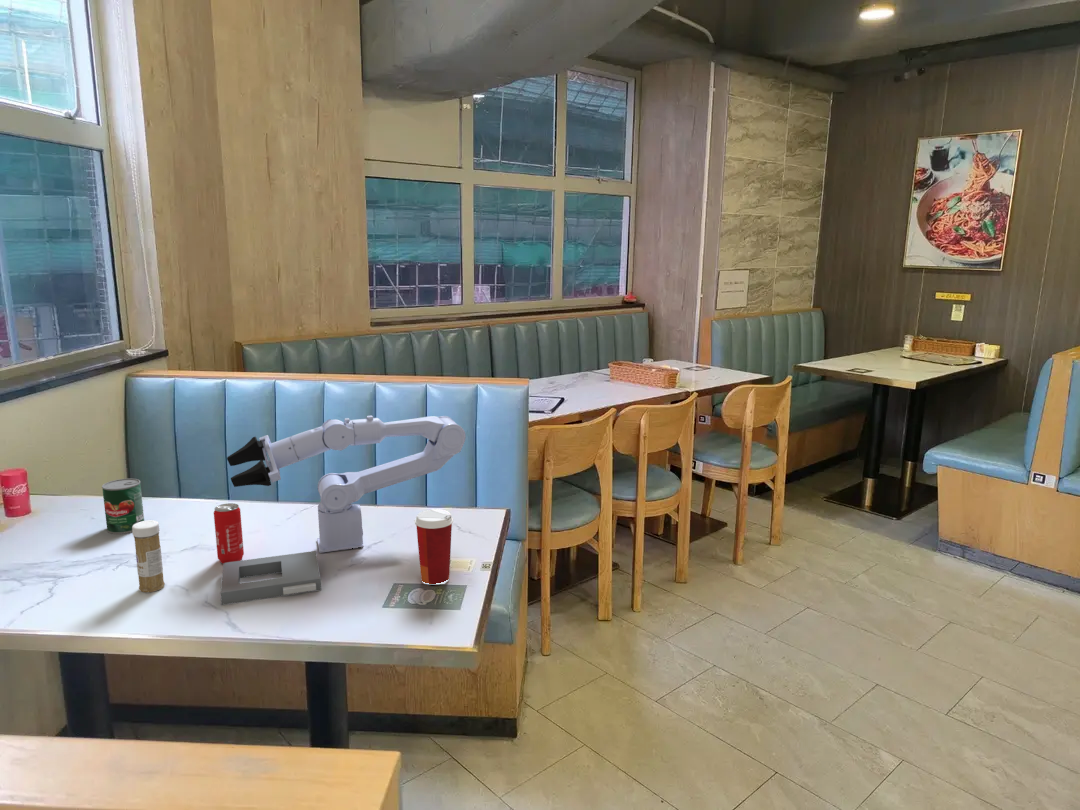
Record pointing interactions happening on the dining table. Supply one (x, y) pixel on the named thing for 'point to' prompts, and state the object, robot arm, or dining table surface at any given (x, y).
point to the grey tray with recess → (295, 579)
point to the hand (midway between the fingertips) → (230, 472)
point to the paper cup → (434, 544)
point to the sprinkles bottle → (148, 555)
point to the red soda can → (228, 533)
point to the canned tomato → (122, 505)
